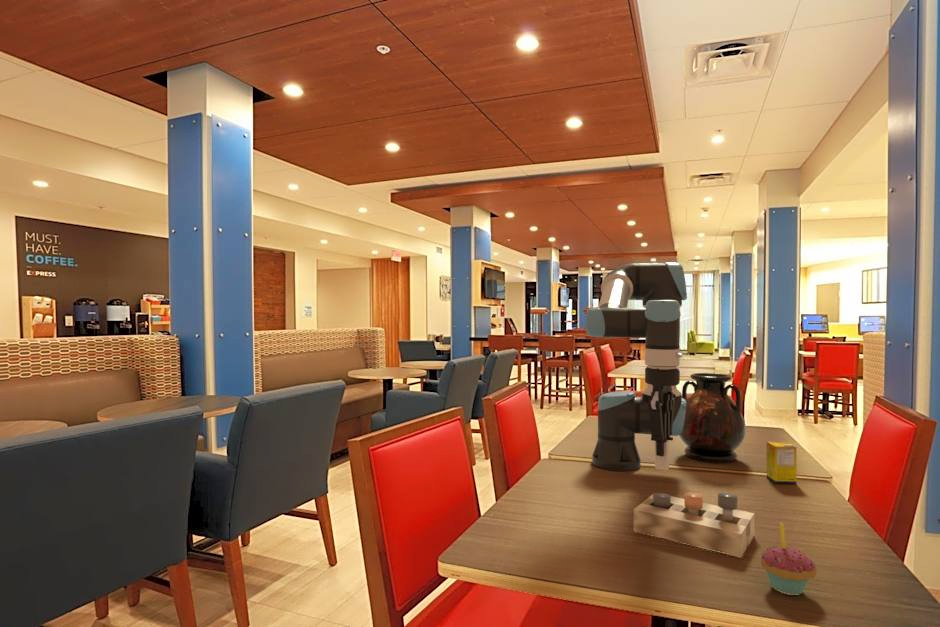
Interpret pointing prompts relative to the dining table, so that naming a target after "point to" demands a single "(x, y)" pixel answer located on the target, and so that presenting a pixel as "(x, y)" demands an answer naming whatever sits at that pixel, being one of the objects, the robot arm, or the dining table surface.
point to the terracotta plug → (693, 502)
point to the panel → (696, 525)
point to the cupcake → (787, 567)
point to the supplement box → (781, 463)
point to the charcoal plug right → (728, 504)
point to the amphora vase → (712, 419)
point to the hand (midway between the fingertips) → (661, 468)
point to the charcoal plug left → (662, 500)
